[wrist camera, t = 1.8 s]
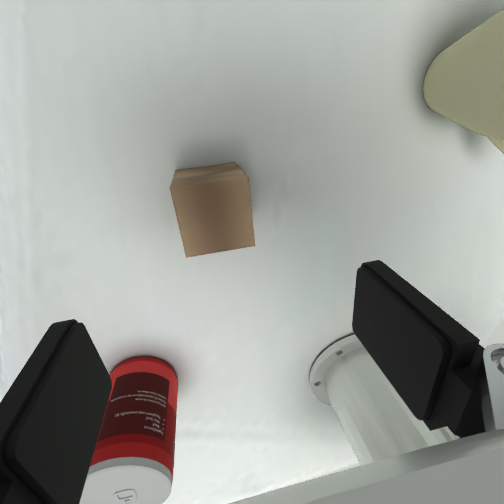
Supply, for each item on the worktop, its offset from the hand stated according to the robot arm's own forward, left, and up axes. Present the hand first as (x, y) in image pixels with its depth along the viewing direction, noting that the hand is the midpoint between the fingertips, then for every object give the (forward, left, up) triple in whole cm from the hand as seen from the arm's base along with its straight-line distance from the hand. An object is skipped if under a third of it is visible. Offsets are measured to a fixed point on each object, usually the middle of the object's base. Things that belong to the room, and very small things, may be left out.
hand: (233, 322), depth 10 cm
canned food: (+11, +20, -17) cm, 28 cm away
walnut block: (0, 0, -17) cm, 17 cm away
